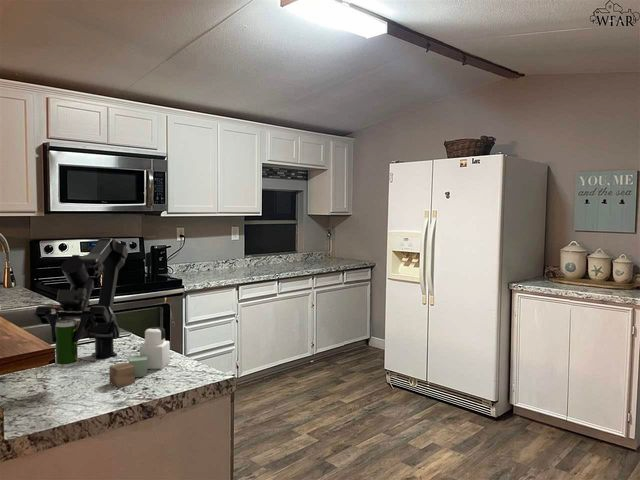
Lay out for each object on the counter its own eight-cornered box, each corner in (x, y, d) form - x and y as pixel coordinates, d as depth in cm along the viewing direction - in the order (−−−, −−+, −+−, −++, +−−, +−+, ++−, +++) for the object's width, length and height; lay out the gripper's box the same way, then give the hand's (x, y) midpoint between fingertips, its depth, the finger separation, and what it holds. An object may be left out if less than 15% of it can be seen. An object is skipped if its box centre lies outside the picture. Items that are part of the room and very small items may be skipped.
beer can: (57, 368, 134) (56, 324, 133) (54, 362, 138) (53, 320, 137) (79, 365, 137) (78, 321, 136) (76, 359, 141) (75, 317, 140)
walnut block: (109, 383, 142) (109, 366, 142) (126, 379, 146) (126, 362, 146) (117, 387, 139) (117, 370, 139) (134, 383, 143) (134, 366, 142)
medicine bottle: (148, 361, 162) (147, 325, 161) (170, 362, 162) (169, 325, 161) (139, 368, 155) (139, 330, 154) (162, 369, 155) (162, 331, 154)
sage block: (128, 372, 151) (128, 356, 151) (146, 371, 153) (146, 354, 153) (129, 378, 147) (129, 361, 147) (147, 376, 149) (147, 359, 148)
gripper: (36, 277, 139) (16, 326, 129) (105, 277, 140) (91, 326, 130) (49, 299, 147) (32, 347, 137) (115, 300, 149) (102, 347, 139)
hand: (64, 341), depth 136 cm, fingers closed on beer can, 5 cm apart
